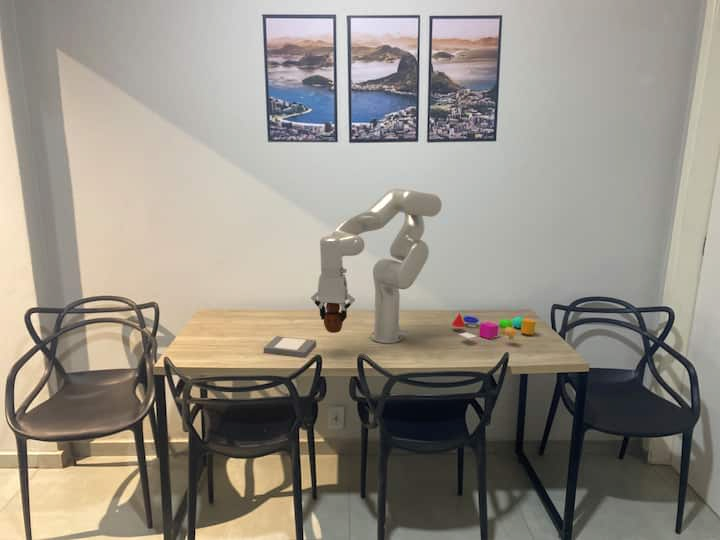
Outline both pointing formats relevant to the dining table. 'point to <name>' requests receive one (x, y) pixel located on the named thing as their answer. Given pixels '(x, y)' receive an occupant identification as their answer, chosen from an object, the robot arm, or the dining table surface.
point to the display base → (290, 346)
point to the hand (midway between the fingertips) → (333, 318)
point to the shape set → (497, 326)
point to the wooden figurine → (333, 318)
